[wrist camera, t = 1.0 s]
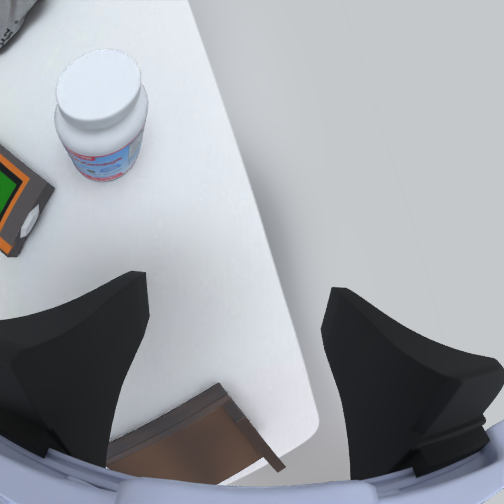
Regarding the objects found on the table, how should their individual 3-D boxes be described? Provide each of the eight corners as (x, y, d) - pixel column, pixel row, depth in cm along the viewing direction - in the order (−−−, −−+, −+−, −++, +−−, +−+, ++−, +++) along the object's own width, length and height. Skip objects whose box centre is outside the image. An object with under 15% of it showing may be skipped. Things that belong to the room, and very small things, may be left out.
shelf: (157, 489, 23) (169, 528, 17) (105, 444, 21) (106, 487, 15) (257, 434, 27) (286, 467, 22) (218, 382, 26) (245, 415, 20)
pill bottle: (63, 172, 19) (21, 120, 9) (91, 110, 20) (79, 30, 10) (125, 192, 22) (124, 149, 12) (151, 128, 22) (173, 54, 12)
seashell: (66, -4, 16) (23, -31, 10) (65, -23, 12) (18, -50, 6) (-1, 71, 17) (-41, 41, 10) (-16, 63, 12) (-57, 32, 6)
